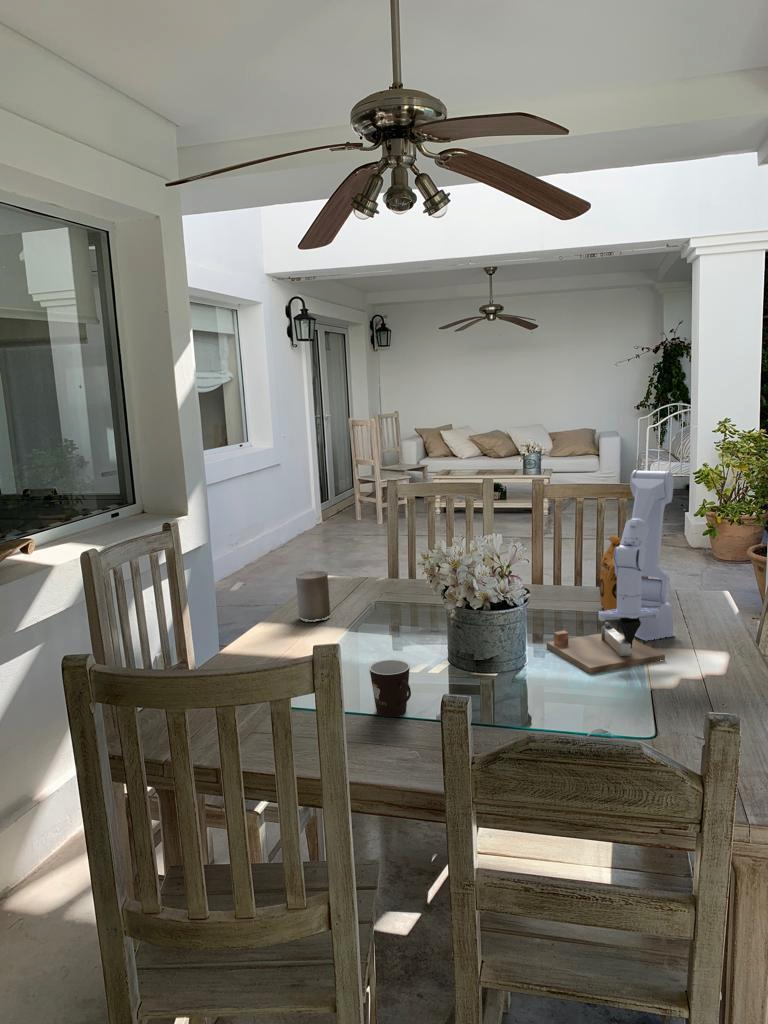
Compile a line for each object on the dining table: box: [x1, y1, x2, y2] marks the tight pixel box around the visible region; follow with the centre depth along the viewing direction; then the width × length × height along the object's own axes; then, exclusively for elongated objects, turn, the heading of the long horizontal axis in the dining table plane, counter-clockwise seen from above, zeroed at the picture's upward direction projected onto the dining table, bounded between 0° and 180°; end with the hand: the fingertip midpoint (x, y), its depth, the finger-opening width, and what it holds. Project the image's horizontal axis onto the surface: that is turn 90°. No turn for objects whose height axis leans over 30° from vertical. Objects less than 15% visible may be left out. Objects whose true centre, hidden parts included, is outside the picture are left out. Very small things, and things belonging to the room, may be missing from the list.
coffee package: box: [598, 534, 622, 611], centre depth 229 cm, size 10×12×22 cm
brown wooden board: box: [546, 630, 666, 675], centre depth 197 cm, size 21×20×4 cm
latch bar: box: [600, 621, 631, 656], centre depth 197 cm, size 15×3×4 cm, turn 3°
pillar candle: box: [295, 570, 331, 620], centre depth 237 cm, size 10×10×15 cm
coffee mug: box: [368, 659, 412, 719], centre depth 167 cm, size 12×9×10 cm
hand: (628, 647), depth 194 cm, fingers closed
